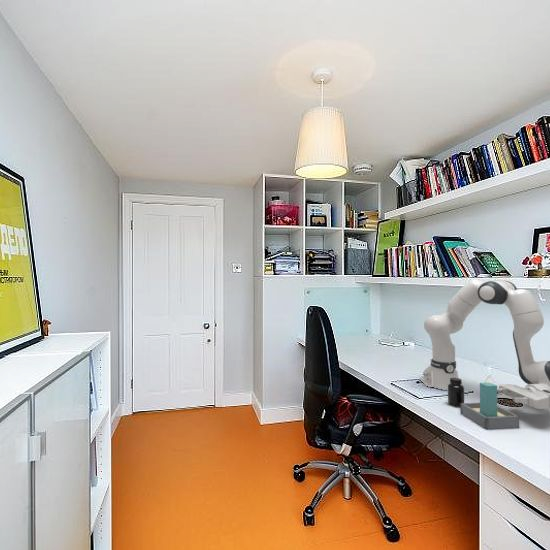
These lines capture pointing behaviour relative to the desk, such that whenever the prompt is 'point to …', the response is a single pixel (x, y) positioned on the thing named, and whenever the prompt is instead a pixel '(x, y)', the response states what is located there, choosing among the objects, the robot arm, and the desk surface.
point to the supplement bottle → (455, 392)
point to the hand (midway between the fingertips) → (505, 395)
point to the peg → (488, 399)
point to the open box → (499, 422)
